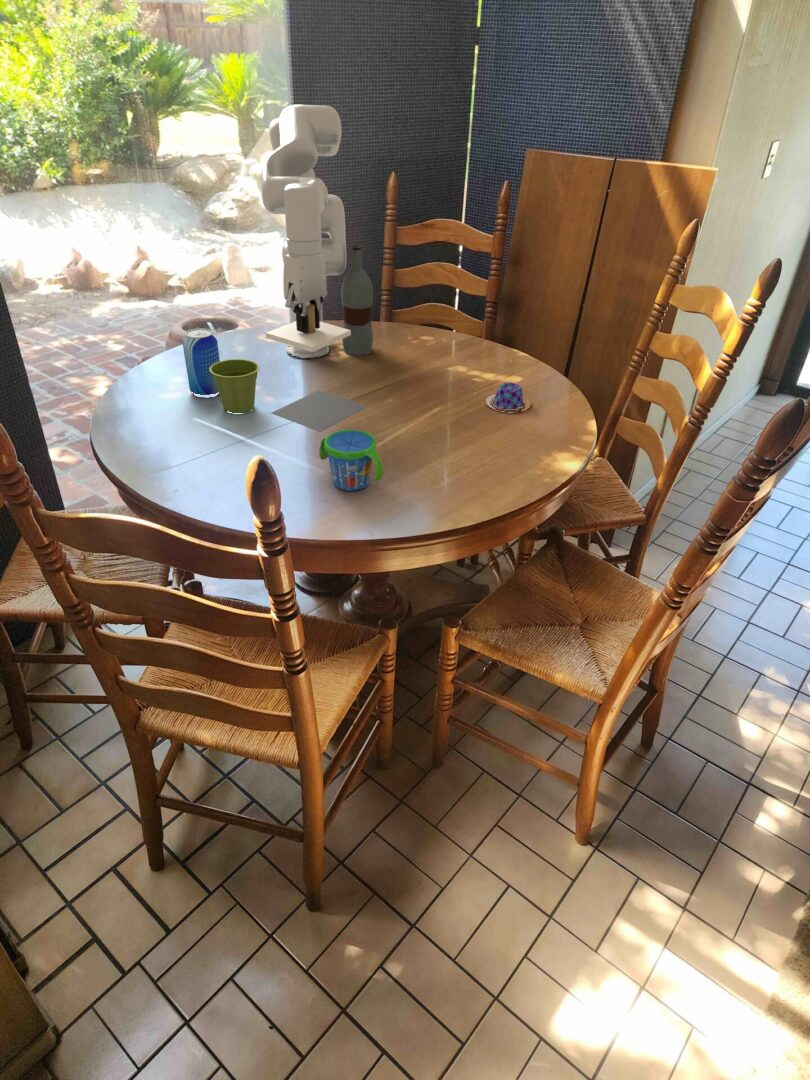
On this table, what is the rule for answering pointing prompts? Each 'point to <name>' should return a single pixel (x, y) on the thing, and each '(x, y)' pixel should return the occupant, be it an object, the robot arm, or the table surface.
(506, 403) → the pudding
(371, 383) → the table surface
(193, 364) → the beer can
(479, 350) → the table surface
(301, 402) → the mat
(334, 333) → the lid
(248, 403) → the plant pot
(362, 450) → the snack cup
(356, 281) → the bottle
